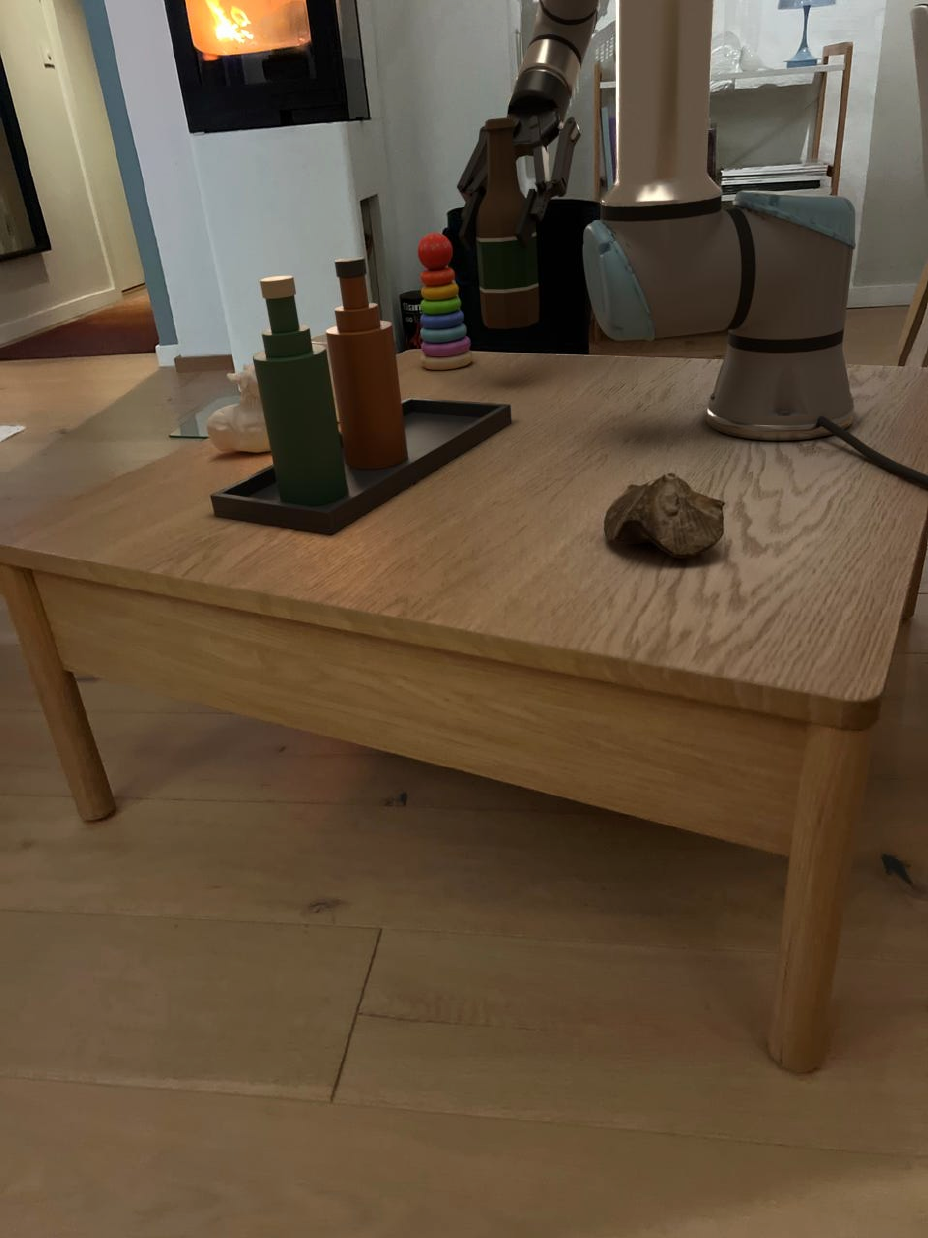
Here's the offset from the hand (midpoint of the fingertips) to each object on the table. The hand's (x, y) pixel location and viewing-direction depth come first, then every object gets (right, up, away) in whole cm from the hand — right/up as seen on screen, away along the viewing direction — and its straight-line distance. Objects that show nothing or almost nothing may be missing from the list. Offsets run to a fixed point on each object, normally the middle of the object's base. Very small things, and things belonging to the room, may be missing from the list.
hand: (492, 241), depth 113 cm
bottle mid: (-13, -30, -14) cm, 35 cm away
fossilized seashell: (+13, -41, -39) cm, 58 cm away
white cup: (-18, -21, +5) cm, 28 cm away
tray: (-13, -30, -14) cm, 36 cm away
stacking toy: (-6, -8, +25) cm, 27 cm away
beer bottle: (+3, -8, +8) cm, 11 cm away
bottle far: (-19, -35, -22) cm, 45 cm away
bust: (-27, -27, -5) cm, 39 cm away
